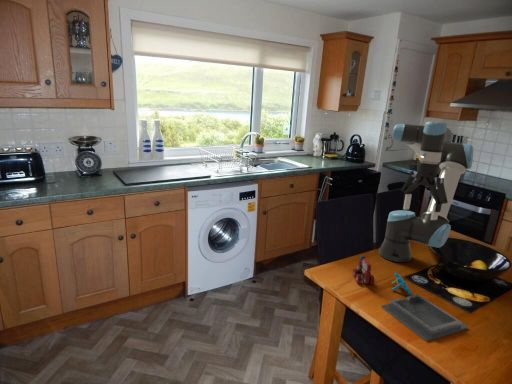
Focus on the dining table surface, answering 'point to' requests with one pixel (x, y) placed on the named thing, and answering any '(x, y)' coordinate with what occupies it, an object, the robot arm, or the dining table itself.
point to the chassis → (424, 317)
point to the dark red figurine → (363, 272)
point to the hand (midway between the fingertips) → (419, 214)
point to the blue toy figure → (401, 284)
